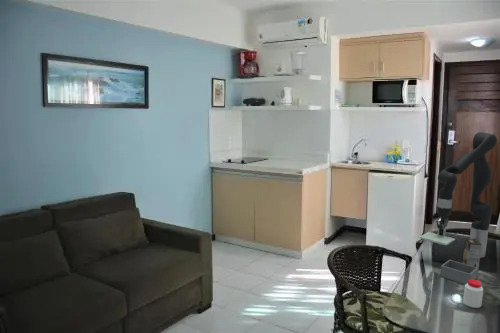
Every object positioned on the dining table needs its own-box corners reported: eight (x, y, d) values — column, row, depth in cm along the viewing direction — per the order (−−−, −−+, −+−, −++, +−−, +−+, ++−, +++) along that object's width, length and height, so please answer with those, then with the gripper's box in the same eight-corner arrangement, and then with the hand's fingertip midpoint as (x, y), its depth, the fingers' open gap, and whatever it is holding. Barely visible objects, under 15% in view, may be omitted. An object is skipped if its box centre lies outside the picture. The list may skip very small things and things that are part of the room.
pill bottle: (459, 299, 202) (462, 278, 200) (474, 299, 203) (477, 278, 201) (469, 308, 195) (471, 286, 193) (484, 307, 195) (487, 285, 193)
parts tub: (448, 269, 236) (449, 259, 235) (477, 278, 225) (478, 267, 224) (439, 276, 228) (440, 265, 226) (469, 285, 217) (470, 274, 216)
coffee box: (461, 263, 244) (464, 237, 241) (473, 265, 243) (476, 238, 240) (466, 270, 235) (469, 243, 232) (478, 271, 234) (482, 244, 231)
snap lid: (428, 234, 252) (429, 223, 250) (455, 241, 241) (456, 230, 240) (419, 239, 243) (420, 228, 242) (446, 246, 232) (447, 235, 231)
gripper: (442, 202, 250) (439, 230, 253) (433, 206, 240) (430, 235, 243) (455, 205, 244) (452, 233, 247) (446, 209, 235) (443, 239, 238)
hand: (441, 234), depth 245 cm, fingers closed on snap lid, 1 cm apart
